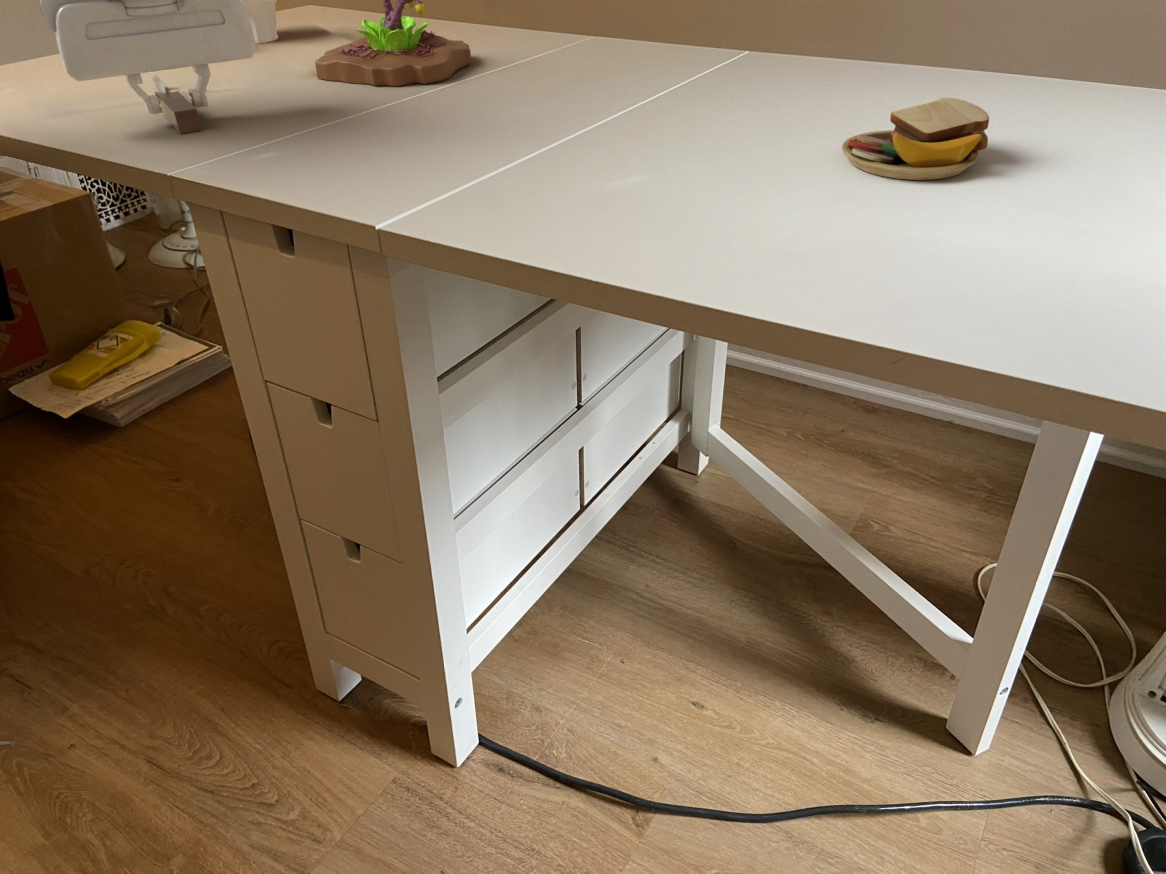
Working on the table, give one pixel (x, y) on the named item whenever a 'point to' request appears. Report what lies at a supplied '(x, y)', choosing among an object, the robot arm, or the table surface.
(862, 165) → the toy sandwich meal
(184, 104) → the knife
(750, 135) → the table surface
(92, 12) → the robot arm
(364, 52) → the plant
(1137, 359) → the table surface
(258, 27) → the cup
